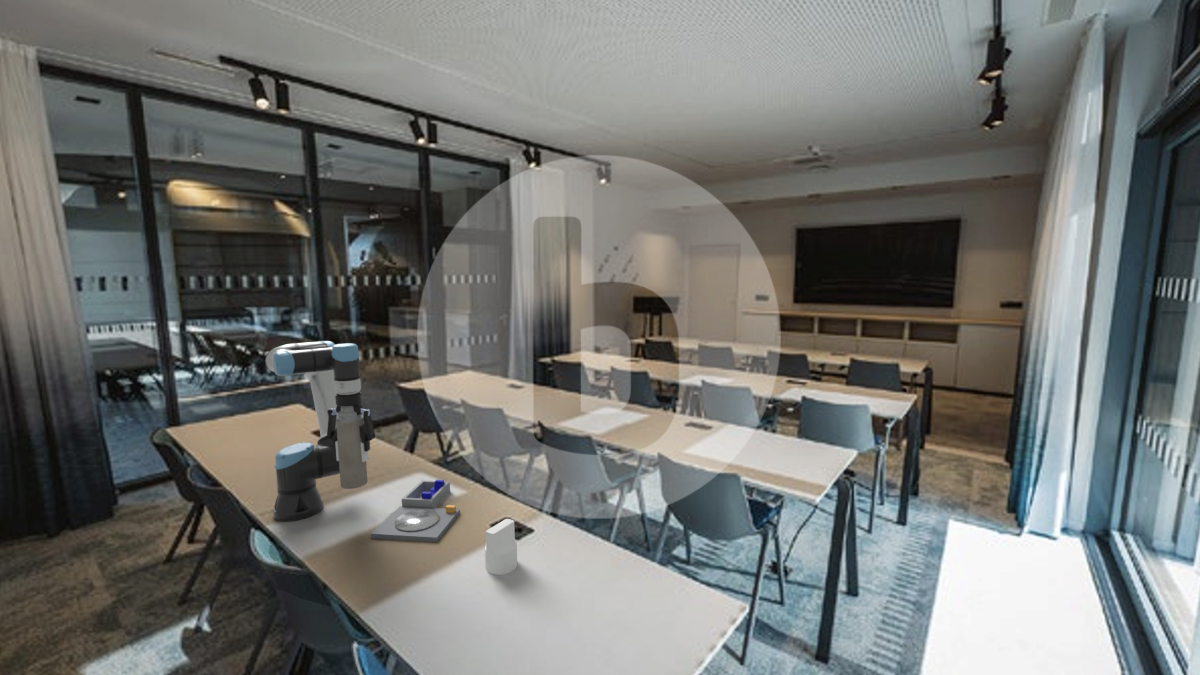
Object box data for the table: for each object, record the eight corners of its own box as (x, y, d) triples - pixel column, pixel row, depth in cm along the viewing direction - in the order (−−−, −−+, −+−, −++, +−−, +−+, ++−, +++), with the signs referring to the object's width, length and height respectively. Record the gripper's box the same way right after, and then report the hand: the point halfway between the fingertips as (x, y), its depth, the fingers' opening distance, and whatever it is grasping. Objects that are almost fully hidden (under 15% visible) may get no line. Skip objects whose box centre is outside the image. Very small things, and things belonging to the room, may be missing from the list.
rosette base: (370, 538, 162) (369, 527, 162) (400, 510, 181) (399, 500, 180) (437, 542, 160) (436, 531, 159) (460, 513, 178) (459, 503, 178)
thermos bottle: (356, 477, 174) (350, 397, 170) (372, 481, 171) (367, 399, 167) (335, 486, 167) (329, 402, 163) (352, 490, 163) (346, 405, 160)
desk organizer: (402, 509, 181) (401, 498, 181) (422, 490, 197) (422, 480, 196) (431, 511, 180) (431, 500, 179) (450, 491, 196) (449, 481, 195)
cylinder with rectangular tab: (502, 578, 141) (501, 537, 139) (478, 568, 146) (477, 528, 144) (523, 562, 148) (522, 523, 147) (500, 553, 153) (499, 515, 152)
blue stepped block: (433, 494, 194) (432, 479, 193) (444, 495, 193) (444, 479, 193) (418, 509, 182) (417, 493, 181) (430, 509, 182) (429, 493, 181)
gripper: (310, 393, 162) (315, 462, 165) (372, 395, 160) (376, 465, 163) (325, 388, 169) (330, 454, 172) (385, 390, 167) (388, 457, 170)
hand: (352, 459), depth 168 cm, fingers closed on thermos bottle, 8 cm apart
